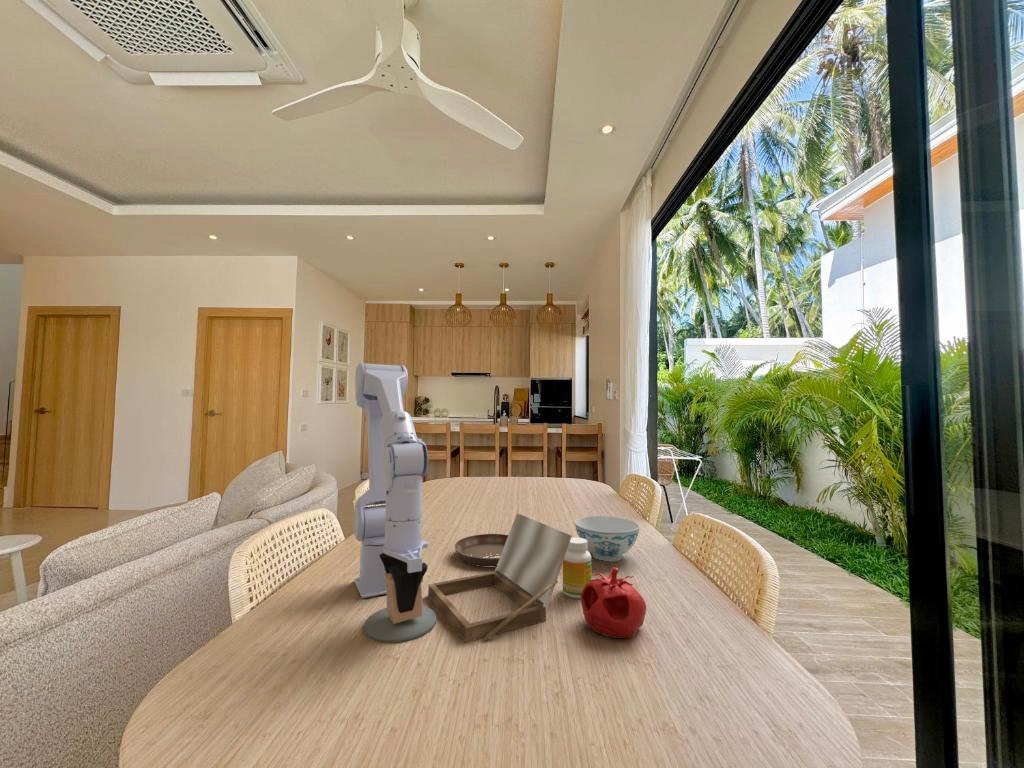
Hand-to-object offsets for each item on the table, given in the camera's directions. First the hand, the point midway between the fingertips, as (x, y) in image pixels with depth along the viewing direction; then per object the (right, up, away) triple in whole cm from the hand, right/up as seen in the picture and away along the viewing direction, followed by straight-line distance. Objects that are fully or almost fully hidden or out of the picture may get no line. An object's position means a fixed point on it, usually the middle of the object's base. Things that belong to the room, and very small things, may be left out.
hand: (401, 604), depth 67 cm
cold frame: (+15, -4, +6) cm, 17 cm away
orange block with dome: (0, -2, 0) cm, 2 cm away
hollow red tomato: (+34, -3, -1) cm, 34 cm away
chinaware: (+40, -6, +32) cm, 52 cm away
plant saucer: (+13, -6, +32) cm, 35 cm away
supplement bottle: (+30, -4, +12) cm, 32 cm away
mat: (0, -3, 0) cm, 3 cm away
